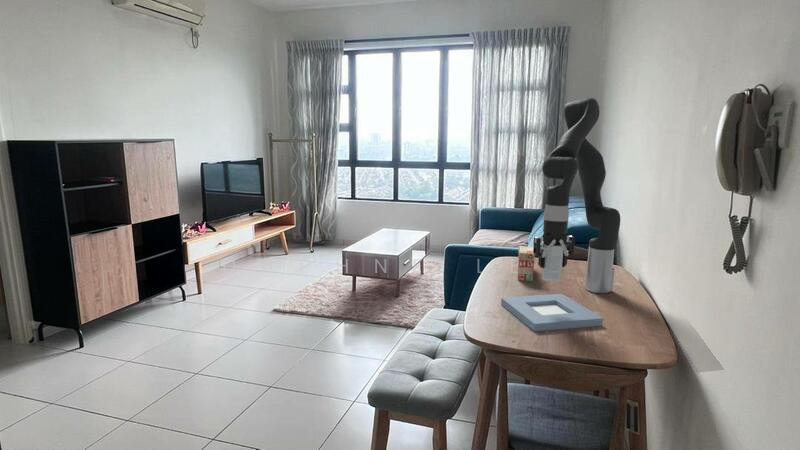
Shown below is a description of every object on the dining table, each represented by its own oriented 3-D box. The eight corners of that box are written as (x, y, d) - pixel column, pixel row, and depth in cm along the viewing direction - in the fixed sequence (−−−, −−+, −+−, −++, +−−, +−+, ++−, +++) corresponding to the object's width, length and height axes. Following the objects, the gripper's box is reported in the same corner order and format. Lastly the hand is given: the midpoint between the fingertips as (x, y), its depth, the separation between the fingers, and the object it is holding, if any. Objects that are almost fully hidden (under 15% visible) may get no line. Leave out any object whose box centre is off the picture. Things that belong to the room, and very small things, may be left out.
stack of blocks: (517, 267, 215) (519, 241, 212) (531, 268, 213) (533, 242, 211) (517, 280, 194) (519, 252, 192) (533, 281, 193) (535, 253, 191)
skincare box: (561, 278, 156) (563, 244, 153) (560, 282, 152) (563, 247, 149) (542, 276, 158) (544, 242, 155) (541, 280, 154) (544, 245, 151)
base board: (561, 300, 171) (561, 293, 170) (602, 325, 148) (603, 318, 147) (500, 304, 166) (501, 297, 165) (534, 331, 143) (534, 323, 142)
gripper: (569, 216, 156) (565, 263, 159) (530, 217, 153) (527, 265, 156) (582, 219, 149) (578, 269, 152) (541, 221, 146) (538, 271, 149)
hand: (552, 266), depth 154 cm, fingers closed on skincare box, 7 cm apart
